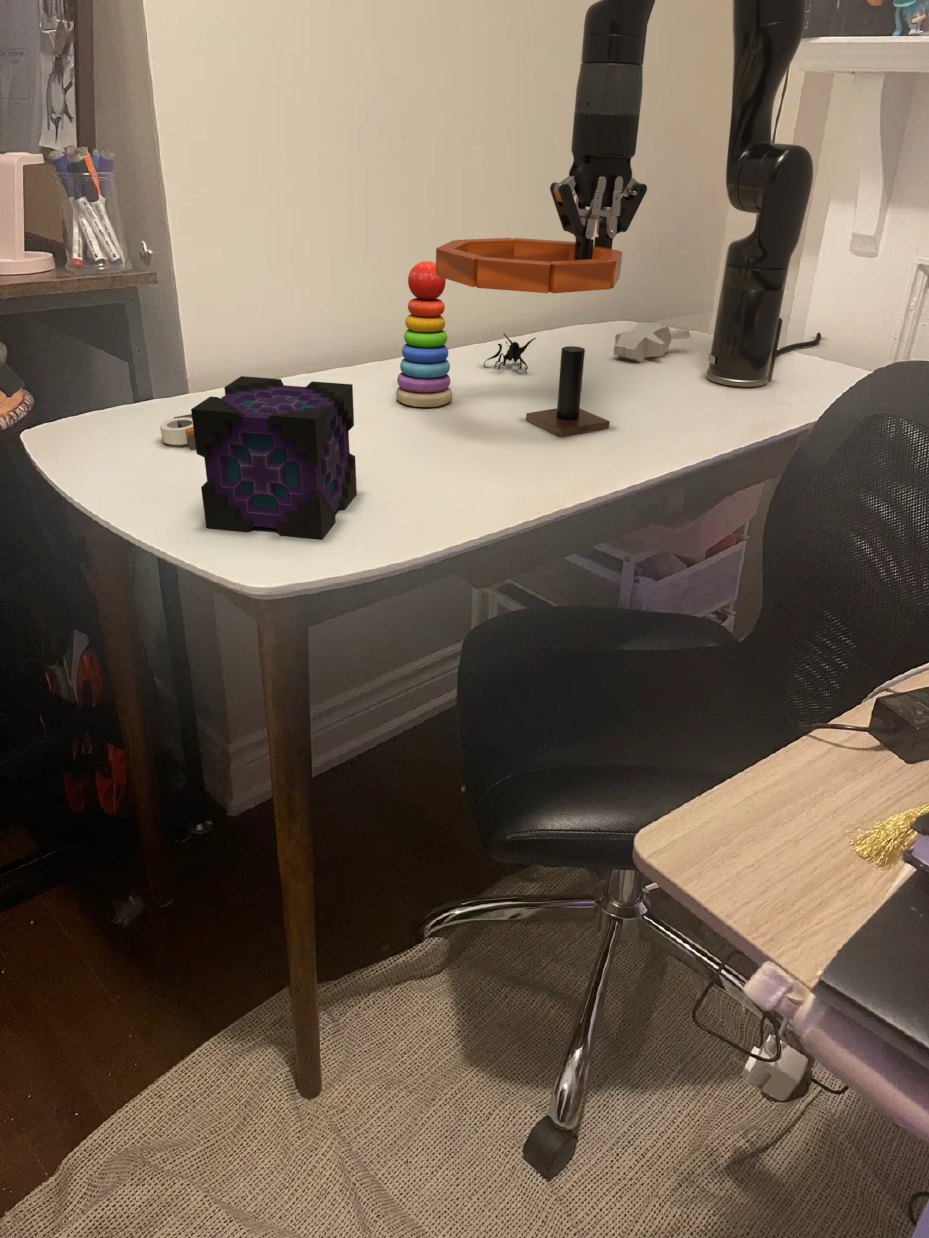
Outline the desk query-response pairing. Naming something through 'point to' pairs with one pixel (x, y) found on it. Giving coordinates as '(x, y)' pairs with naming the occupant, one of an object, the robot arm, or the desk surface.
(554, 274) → the ring
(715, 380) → the robot arm
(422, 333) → the stacking toy
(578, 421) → the post
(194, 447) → the tape dispenser
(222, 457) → the energy cube
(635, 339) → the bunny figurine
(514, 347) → the creature
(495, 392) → the desk surface
